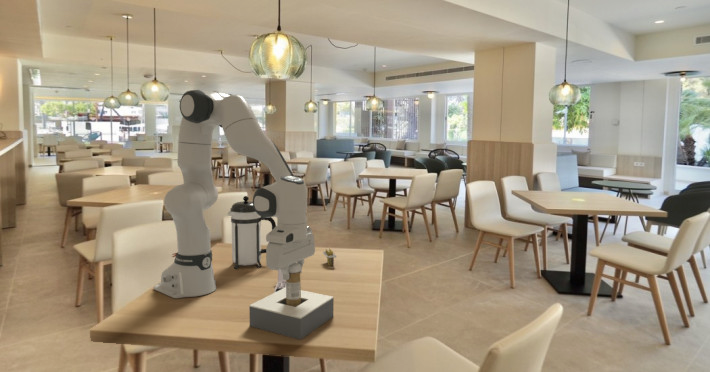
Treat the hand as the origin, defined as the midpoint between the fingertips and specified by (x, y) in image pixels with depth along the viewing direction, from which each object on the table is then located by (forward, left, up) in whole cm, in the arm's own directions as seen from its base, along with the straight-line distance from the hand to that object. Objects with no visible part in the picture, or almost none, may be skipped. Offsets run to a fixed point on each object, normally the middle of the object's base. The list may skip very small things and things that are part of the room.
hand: (292, 276), depth 134 cm
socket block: (0, 0, -14) cm, 14 cm away
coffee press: (-50, +39, -14) cm, 65 cm away
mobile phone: (-17, +19, -14) cm, 29 cm away
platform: (-21, +57, -15) cm, 63 cm away
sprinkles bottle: (0, 0, -10) cm, 10 cm away
